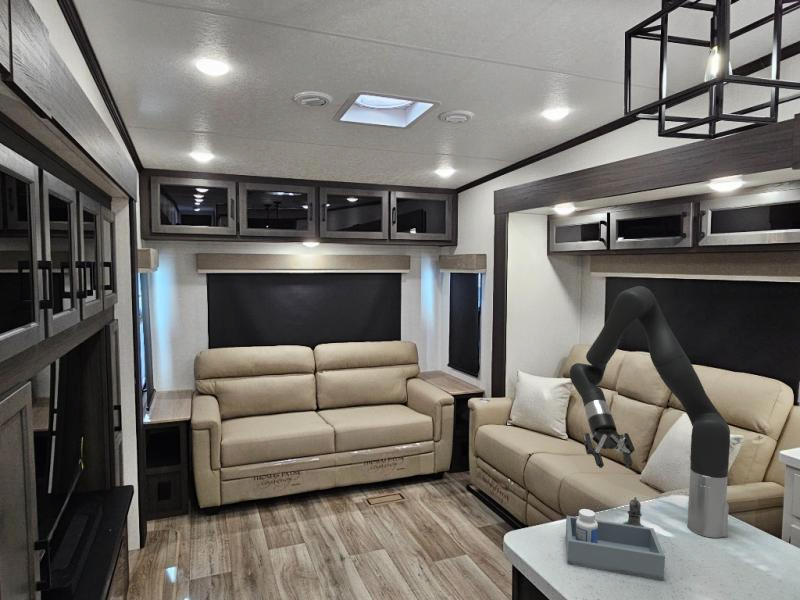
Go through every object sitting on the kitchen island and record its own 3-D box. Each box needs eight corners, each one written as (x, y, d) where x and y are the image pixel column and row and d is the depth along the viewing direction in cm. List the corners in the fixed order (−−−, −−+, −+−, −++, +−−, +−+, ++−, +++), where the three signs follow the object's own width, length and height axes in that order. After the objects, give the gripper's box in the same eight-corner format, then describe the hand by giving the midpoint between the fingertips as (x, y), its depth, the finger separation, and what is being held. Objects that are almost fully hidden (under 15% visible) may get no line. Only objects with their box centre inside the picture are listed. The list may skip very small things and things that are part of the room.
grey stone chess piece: (643, 536, 142) (645, 494, 142) (646, 546, 137) (648, 503, 136) (620, 532, 144) (622, 491, 144) (622, 542, 139) (624, 499, 138)
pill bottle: (593, 543, 136) (595, 508, 135) (599, 554, 130) (601, 518, 130) (572, 542, 136) (574, 507, 136) (577, 553, 131) (579, 516, 130)
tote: (652, 550, 135) (653, 528, 135) (663, 580, 122) (665, 556, 121) (565, 536, 141) (566, 515, 141) (567, 563, 128) (568, 540, 127)
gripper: (581, 412, 159) (596, 461, 148) (626, 412, 159) (644, 461, 149) (574, 423, 164) (588, 472, 153) (617, 423, 165) (633, 472, 154)
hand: (615, 466), depth 151 cm, fingers open, 8 cm apart
